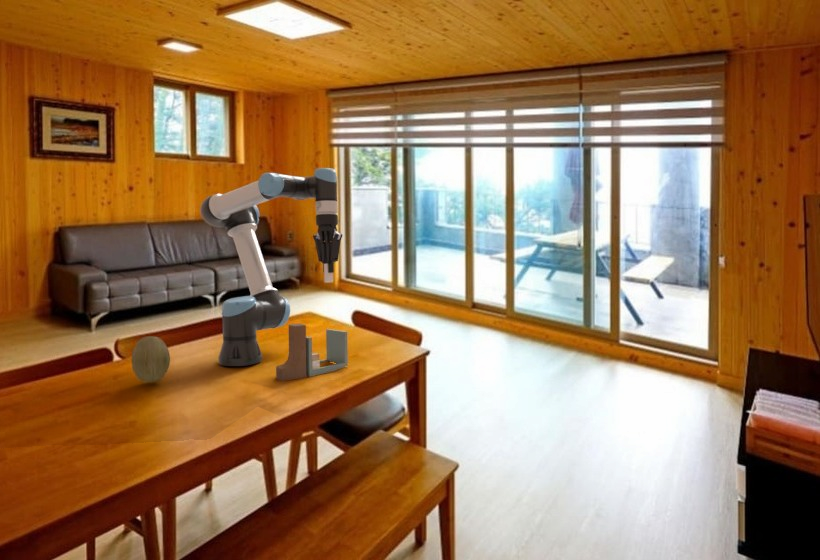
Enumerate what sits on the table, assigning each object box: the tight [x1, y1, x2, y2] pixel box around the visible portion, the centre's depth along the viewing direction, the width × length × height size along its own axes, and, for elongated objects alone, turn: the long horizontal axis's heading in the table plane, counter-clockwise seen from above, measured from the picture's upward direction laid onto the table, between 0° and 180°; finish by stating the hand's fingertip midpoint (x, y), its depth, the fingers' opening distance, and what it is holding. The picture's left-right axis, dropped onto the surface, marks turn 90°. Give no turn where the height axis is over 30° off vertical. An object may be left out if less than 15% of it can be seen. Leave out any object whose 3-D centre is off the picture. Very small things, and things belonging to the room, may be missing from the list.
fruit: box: [131, 335, 171, 383], centre depth 178 cm, size 11×11×15 cm
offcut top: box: [312, 351, 320, 361], centre depth 189 cm, size 6×3×2 cm, turn 49°
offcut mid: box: [312, 359, 321, 369], centre depth 190 cm, size 7×3×2 cm, turn 49°
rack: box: [306, 328, 349, 378], centre depth 193 cm, size 10×17×13 cm, turn 139°
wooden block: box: [275, 323, 307, 382], centre depth 182 cm, size 9×4×18 cm, turn 125°
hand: (328, 282), depth 191 cm, fingers closed
